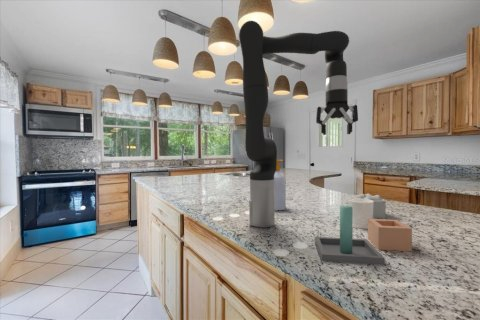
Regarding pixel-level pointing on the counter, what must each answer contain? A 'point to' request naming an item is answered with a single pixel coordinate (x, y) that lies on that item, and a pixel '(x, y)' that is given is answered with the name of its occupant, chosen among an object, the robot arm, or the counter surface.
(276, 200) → the soap bottle
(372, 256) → the tray
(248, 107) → the robot arm
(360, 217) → the white cup
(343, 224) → the dowel
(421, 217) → the counter surface
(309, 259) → the counter surface
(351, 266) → the counter surface
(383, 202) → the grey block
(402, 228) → the pot
